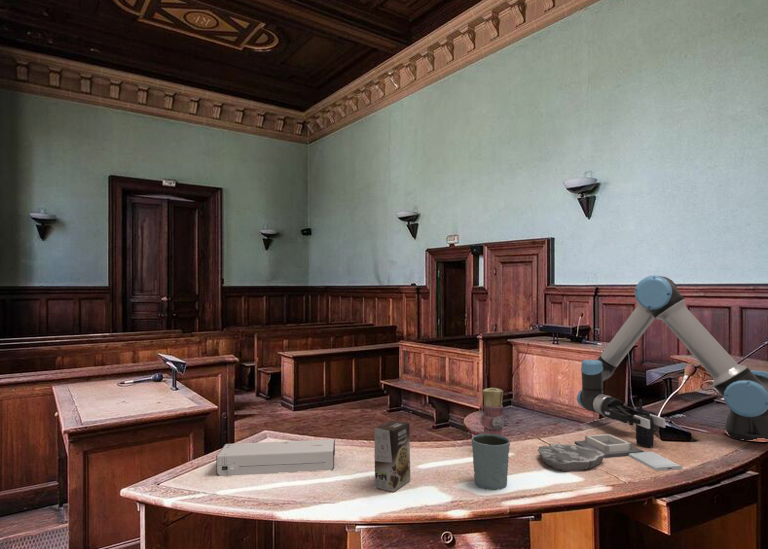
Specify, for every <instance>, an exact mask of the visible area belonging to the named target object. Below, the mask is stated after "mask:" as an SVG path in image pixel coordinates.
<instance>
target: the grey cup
mask: <svg viewBox="0 0 768 549" xmlns="http://www.w3.org/2000/svg"><path fill="white" fill-rule="evenodd" d="M510 445H511V441H510V439H509V438H508V437H506V436H500V435H495V434H483V433H481V434H475V435H473V436H472V437H471V448H472V462H473V473H474V474H473V476H474V477H473V478H474V484H475V486H477V487H478V488H480V489H483V490H487V489H488V490H489V491H497V490H498V489H499V490H503V489H505V488H506V487H507V484H508V474H509V473H508V471H509V469H508V468H509V458H510V456H509V454H510ZM502 488H503V489H502Z"/></svg>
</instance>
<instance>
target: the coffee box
mask: <svg viewBox="0 0 768 549" xmlns="http://www.w3.org/2000/svg"><path fill="white" fill-rule="evenodd" d="M410 424H411V423H410V422H406V421H399V420H389V421H387V422H384V423H382V424H379V425H377V426H375V427H374V488H375V487H376V489H379V488H380V490H384V491H387V492H391V493H395V492H396V491H397V490H399V489H400V488H403V486H405V485H407V484H408V483H410V482H411V441H410V440H411V438H410V437H411V436H410V431H411V430H410V429H411V428H410Z"/></svg>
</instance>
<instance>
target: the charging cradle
mask: <svg viewBox="0 0 768 549" xmlns="http://www.w3.org/2000/svg"><path fill="white" fill-rule="evenodd" d="M584 439H585V440H577V441H576V440H574V445H575V444H576V445H578V446H583V447H589V448H593V449H595V450H598V451H600V452H602V453H604V454H605V455H604V458H603V459H606V458H607V459H608V458H618V457H629V454H630V453H640V452H645V451H644V450H642V449H640V448H638V447H636V446H633V443H631V442H629V441H626V440H624V439H621V438H619V437H617V436H616V435H615V436H614V435H613V434H610V433H605V434H603V433H602V434H593V435H592V434H591V435H585V436H584Z"/></svg>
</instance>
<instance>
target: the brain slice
mask: <svg viewBox="0 0 768 549" xmlns="http://www.w3.org/2000/svg"><path fill="white" fill-rule="evenodd" d="M537 452H538V453H539V456H540V457H541V459H542V461H543V462H544V463H545V464H546V465H547V466H548V465H549V466H548V467H551V466H552V468H554V470H556V471H560V472H562V471H563V472H573V471H572V470H577V471H583V470H584V469H585V470H587V469H588V470H589V469H590V470H592V469H593V468H594V467H597V466H599V465H600V464H601V463H602V462H603V460H604V459H605V458H604V455H605V454H604V453H602V452H600V451H598V450H595V449H593V448H589V447H583V446H578V445H575V444H566V443H550V444H549V446H548V445H543V446H539V447H538V449H537Z"/></svg>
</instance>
